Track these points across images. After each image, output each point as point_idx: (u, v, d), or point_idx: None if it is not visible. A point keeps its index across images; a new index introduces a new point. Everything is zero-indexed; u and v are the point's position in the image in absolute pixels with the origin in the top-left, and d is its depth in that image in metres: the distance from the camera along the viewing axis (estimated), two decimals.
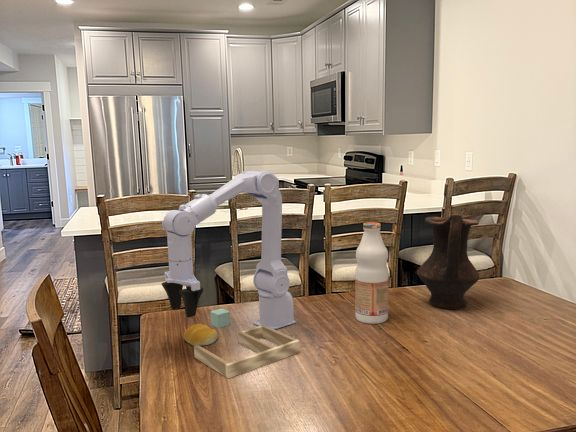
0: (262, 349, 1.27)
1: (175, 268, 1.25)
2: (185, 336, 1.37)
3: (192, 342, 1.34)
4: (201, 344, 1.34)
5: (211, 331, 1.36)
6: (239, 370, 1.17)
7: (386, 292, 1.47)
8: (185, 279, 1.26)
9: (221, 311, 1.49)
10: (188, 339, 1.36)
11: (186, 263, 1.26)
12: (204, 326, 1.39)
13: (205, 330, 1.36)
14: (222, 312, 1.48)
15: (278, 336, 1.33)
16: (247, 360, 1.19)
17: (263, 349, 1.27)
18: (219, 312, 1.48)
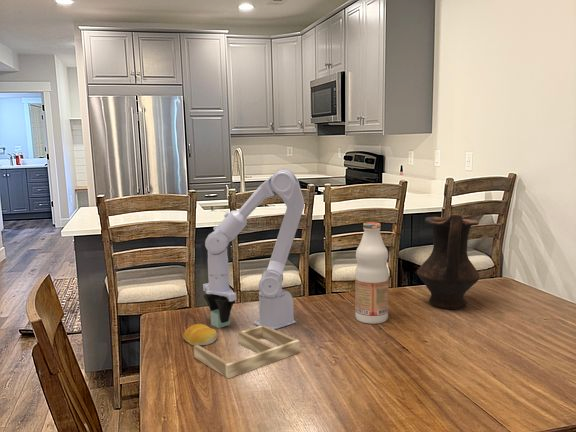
0: (262, 349, 1.27)
1: (214, 282, 1.44)
2: (185, 336, 1.37)
3: (192, 342, 1.34)
4: (201, 344, 1.34)
5: (211, 331, 1.36)
6: (239, 370, 1.17)
7: (386, 292, 1.47)
8: (223, 291, 1.45)
9: None
10: (188, 339, 1.36)
11: (224, 277, 1.45)
12: (203, 326, 1.39)
13: (205, 330, 1.36)
14: None
15: (278, 336, 1.33)
16: (247, 360, 1.19)
17: (263, 349, 1.27)
18: None
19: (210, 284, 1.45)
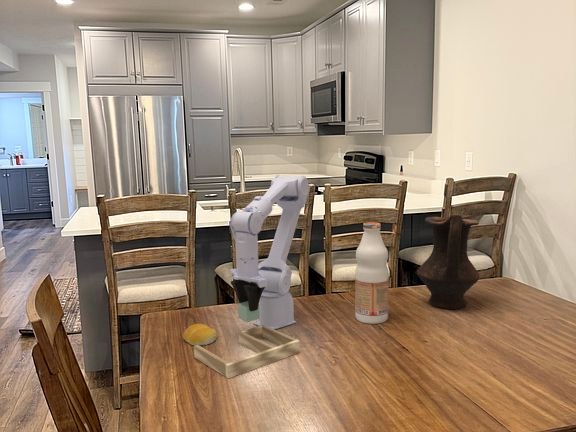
0: (262, 349, 1.27)
1: (243, 266, 1.32)
2: (185, 336, 1.37)
3: (192, 342, 1.34)
4: (200, 344, 1.34)
5: (211, 331, 1.36)
6: (239, 370, 1.17)
7: (386, 292, 1.47)
8: (252, 276, 1.33)
9: None
10: (188, 339, 1.36)
11: (253, 261, 1.33)
12: (203, 326, 1.39)
13: (204, 330, 1.36)
14: None
15: (278, 336, 1.33)
16: (247, 360, 1.19)
17: (263, 349, 1.27)
18: None
19: (238, 269, 1.33)
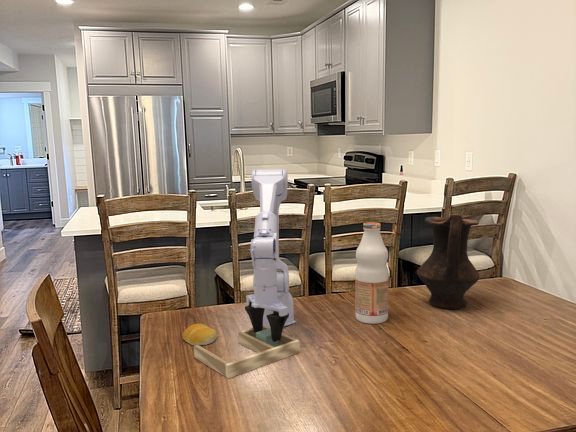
0: (262, 349, 1.27)
1: (262, 294, 1.27)
2: (184, 336, 1.37)
3: (191, 342, 1.34)
4: (200, 344, 1.34)
5: (210, 331, 1.36)
6: (239, 370, 1.17)
7: (386, 292, 1.47)
8: (271, 304, 1.28)
9: (268, 332, 1.32)
10: (187, 339, 1.36)
11: (272, 288, 1.28)
12: (203, 326, 1.39)
13: (204, 330, 1.36)
14: (269, 333, 1.31)
15: None
16: (247, 360, 1.19)
17: (263, 349, 1.27)
18: (267, 334, 1.31)
19: (257, 296, 1.28)
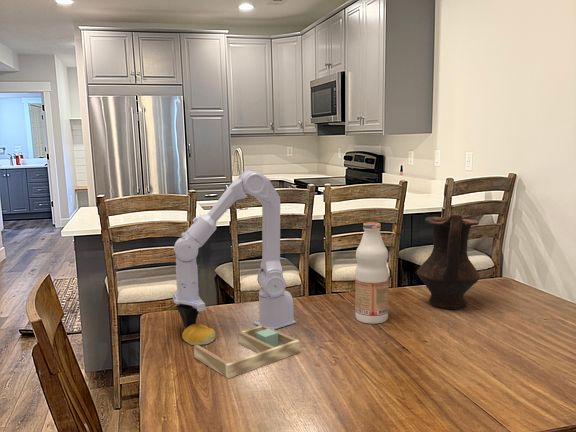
0: (262, 349, 1.27)
1: (183, 291, 1.38)
2: (183, 336, 1.37)
3: (191, 341, 1.34)
4: (199, 344, 1.34)
5: (209, 331, 1.37)
6: (239, 370, 1.17)
7: (386, 292, 1.47)
8: (191, 300, 1.39)
9: (268, 332, 1.32)
10: (187, 339, 1.36)
11: (192, 286, 1.38)
12: (202, 326, 1.39)
13: (203, 330, 1.36)
14: (269, 333, 1.31)
15: (278, 336, 1.33)
16: (247, 360, 1.19)
17: (263, 349, 1.27)
18: (267, 334, 1.31)
19: (178, 293, 1.39)
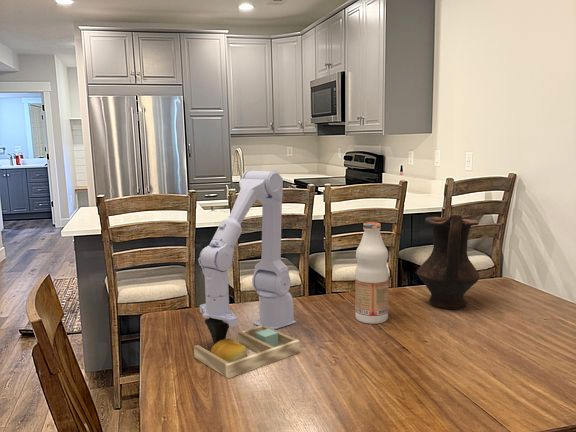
0: (262, 349, 1.27)
1: (212, 304, 1.27)
2: (212, 352, 1.26)
3: None
4: (228, 362, 1.23)
5: (240, 348, 1.25)
6: (239, 370, 1.17)
7: (386, 292, 1.47)
8: (222, 314, 1.27)
9: (268, 332, 1.32)
10: None
11: (223, 298, 1.27)
12: (232, 342, 1.28)
13: (233, 347, 1.24)
14: (269, 333, 1.31)
15: (278, 336, 1.33)
16: (247, 360, 1.19)
17: (263, 349, 1.27)
18: (267, 334, 1.31)
19: (207, 306, 1.28)
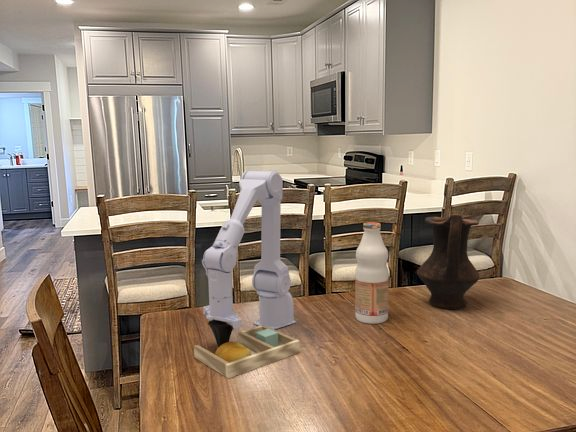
0: (262, 349, 1.27)
1: (216, 305, 1.25)
2: (216, 355, 1.24)
3: None
4: None
5: (244, 351, 1.23)
6: (239, 370, 1.17)
7: (386, 292, 1.47)
8: (226, 316, 1.26)
9: (268, 332, 1.32)
10: None
11: (227, 300, 1.26)
12: (237, 344, 1.26)
13: (237, 349, 1.23)
14: (269, 333, 1.31)
15: (278, 336, 1.33)
16: (247, 360, 1.19)
17: (263, 349, 1.27)
18: (267, 334, 1.31)
19: (211, 308, 1.26)
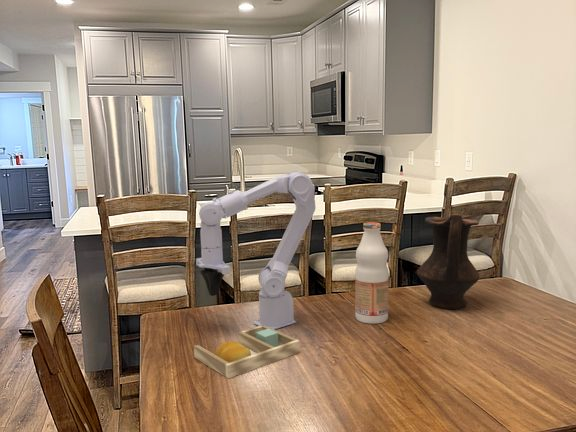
0: (262, 349, 1.27)
1: (207, 255, 1.40)
2: (216, 355, 1.24)
3: None
4: None
5: (244, 351, 1.23)
6: (239, 370, 1.17)
7: (386, 292, 1.47)
8: (216, 264, 1.40)
9: (268, 332, 1.32)
10: None
11: (217, 250, 1.40)
12: (236, 344, 1.26)
13: (237, 349, 1.23)
14: (269, 333, 1.31)
15: (278, 336, 1.33)
16: (247, 360, 1.19)
17: (263, 349, 1.27)
18: (267, 334, 1.31)
19: (203, 257, 1.41)
